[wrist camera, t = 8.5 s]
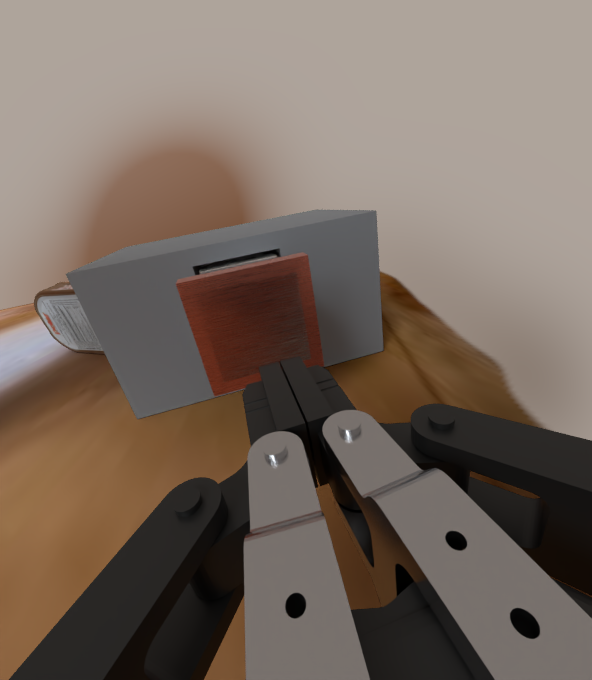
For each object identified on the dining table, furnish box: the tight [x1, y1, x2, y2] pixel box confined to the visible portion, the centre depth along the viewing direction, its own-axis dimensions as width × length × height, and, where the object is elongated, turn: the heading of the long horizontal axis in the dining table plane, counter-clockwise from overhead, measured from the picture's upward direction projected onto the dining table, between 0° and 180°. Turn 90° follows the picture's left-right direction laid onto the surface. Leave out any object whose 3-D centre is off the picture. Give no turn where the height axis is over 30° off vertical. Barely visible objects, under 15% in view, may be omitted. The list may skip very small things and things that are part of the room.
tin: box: [34, 282, 105, 354], centre depth 35 cm, size 15×3×8 cm, turn 69°
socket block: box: [66, 210, 384, 419], centre depth 28 cm, size 14×20×11 cm
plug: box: [176, 250, 324, 397], centre depth 23 cm, size 16×6×6 cm, turn 15°
